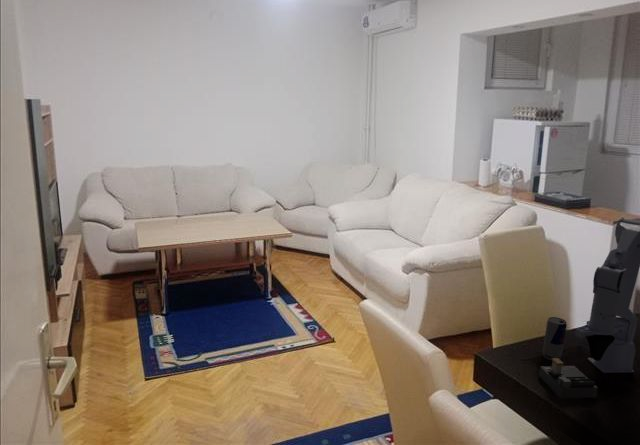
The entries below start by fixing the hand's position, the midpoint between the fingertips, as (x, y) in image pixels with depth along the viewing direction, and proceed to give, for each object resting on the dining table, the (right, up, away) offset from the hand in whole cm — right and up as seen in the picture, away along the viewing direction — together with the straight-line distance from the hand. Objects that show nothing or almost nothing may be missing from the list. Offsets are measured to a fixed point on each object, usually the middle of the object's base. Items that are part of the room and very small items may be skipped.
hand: (595, 358), depth 134 cm
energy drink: (-3, -5, +20) cm, 20 cm away
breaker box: (-6, -9, +4) cm, 11 cm away
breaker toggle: (-9, -5, +4) cm, 11 cm away
